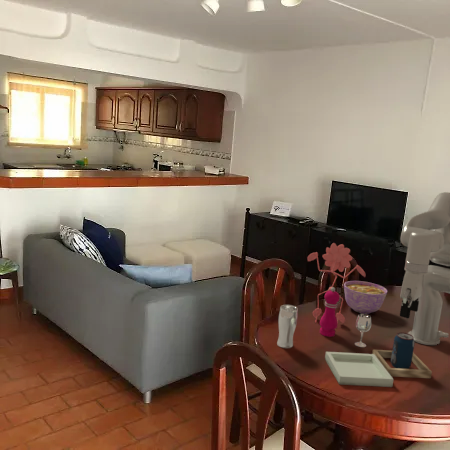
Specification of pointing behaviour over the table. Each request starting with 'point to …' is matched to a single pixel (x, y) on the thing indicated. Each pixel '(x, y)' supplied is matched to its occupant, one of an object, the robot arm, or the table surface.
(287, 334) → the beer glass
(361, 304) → the bowl of food
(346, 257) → the figurine
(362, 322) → the wineglass
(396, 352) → the soda can
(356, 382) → the sage dish
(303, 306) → the table surface
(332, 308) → the pepper mill
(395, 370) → the oak frame
